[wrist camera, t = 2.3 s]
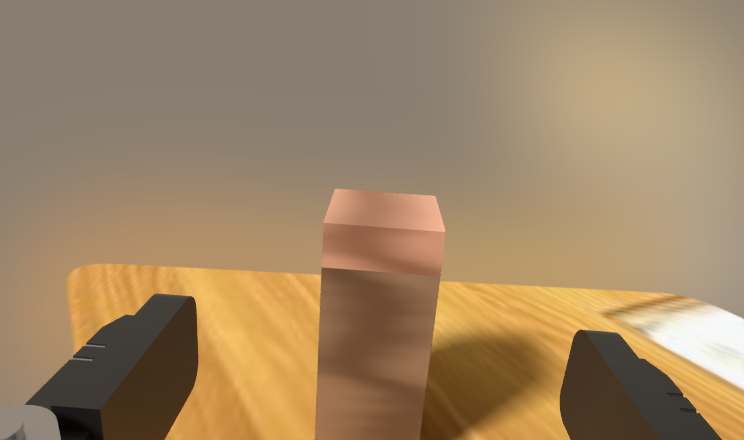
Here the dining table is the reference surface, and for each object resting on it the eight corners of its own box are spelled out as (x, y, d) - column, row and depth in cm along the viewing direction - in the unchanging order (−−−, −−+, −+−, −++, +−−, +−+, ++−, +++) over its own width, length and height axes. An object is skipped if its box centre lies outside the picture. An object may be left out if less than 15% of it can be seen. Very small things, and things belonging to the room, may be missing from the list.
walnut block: (412, 394, 30) (435, 196, 26) (416, 461, 25) (445, 232, 21) (325, 387, 30) (335, 188, 26) (314, 453, 25) (323, 222, 21)
